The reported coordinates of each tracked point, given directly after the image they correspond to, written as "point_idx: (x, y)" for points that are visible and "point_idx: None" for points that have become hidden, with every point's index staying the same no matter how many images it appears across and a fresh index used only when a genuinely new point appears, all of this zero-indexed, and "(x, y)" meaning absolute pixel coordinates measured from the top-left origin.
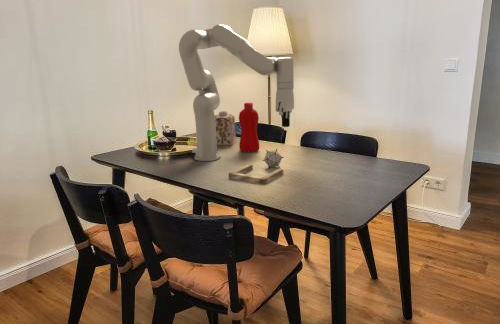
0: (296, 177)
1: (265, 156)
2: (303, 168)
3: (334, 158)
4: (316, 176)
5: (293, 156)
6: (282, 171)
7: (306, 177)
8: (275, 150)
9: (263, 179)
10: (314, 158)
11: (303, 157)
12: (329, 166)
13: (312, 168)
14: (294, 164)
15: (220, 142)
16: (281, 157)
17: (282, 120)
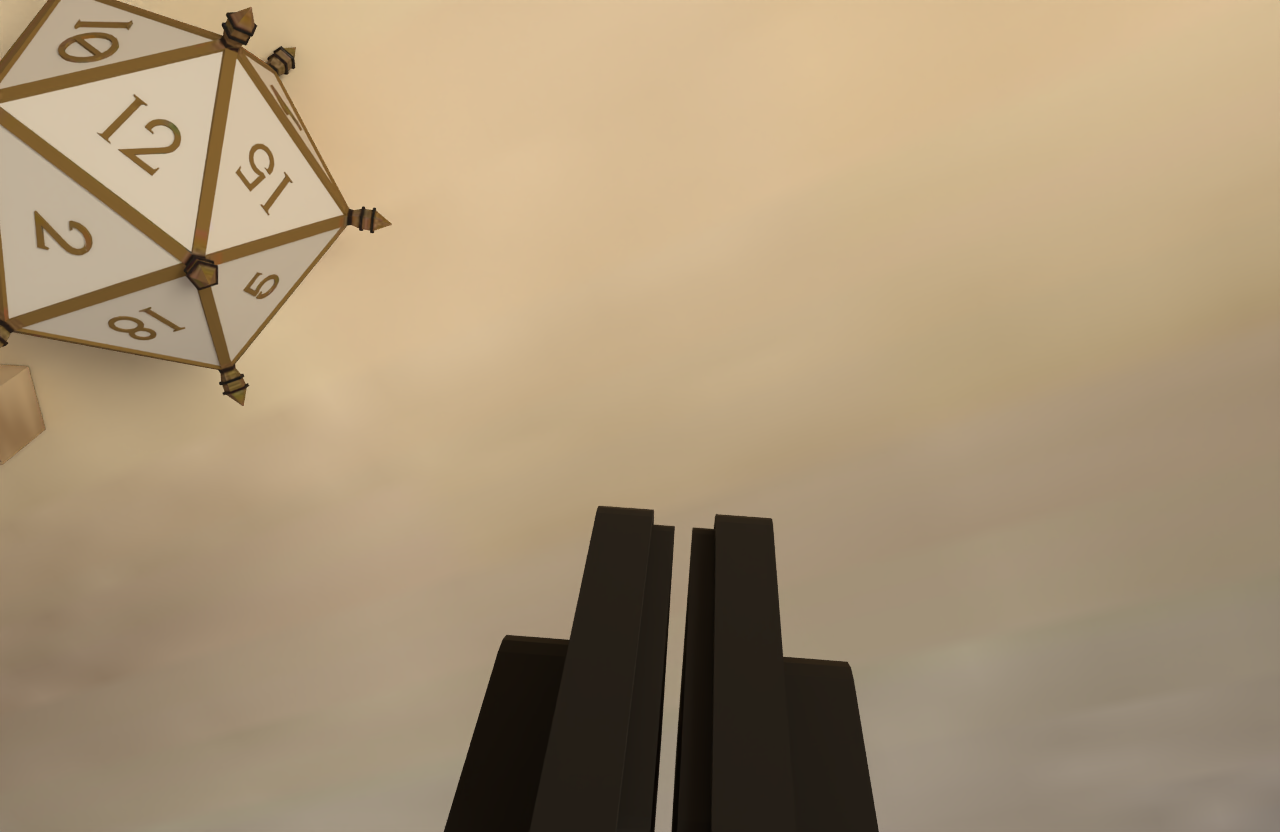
0: (47, 617)
1: (21, 42)
2: (447, 573)
3: (1142, 772)
4: (232, 777)
5: (1121, 176)
6: (6, 448)
7: (127, 705)
8: (172, 252)
9: None
10: (1066, 548)
11: (1089, 374)
12: None
13: None
14: (580, 396)
15: None
16: (214, 363)
17: (555, 748)
